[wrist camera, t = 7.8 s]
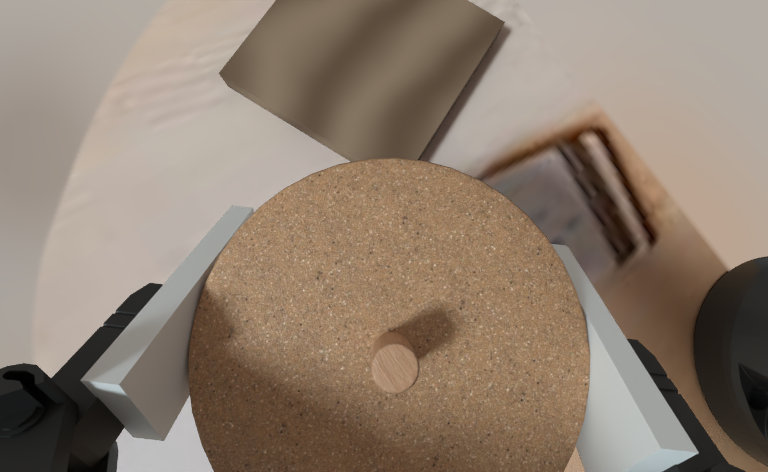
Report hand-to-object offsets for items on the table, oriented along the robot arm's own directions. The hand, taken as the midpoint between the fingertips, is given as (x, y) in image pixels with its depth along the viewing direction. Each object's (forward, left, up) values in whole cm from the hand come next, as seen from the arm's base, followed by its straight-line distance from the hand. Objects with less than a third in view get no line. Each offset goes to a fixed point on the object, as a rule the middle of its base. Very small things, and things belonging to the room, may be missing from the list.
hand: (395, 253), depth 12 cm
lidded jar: (-1, +3, -4) cm, 5 cm away
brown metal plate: (+9, -13, -10) cm, 19 cm away
